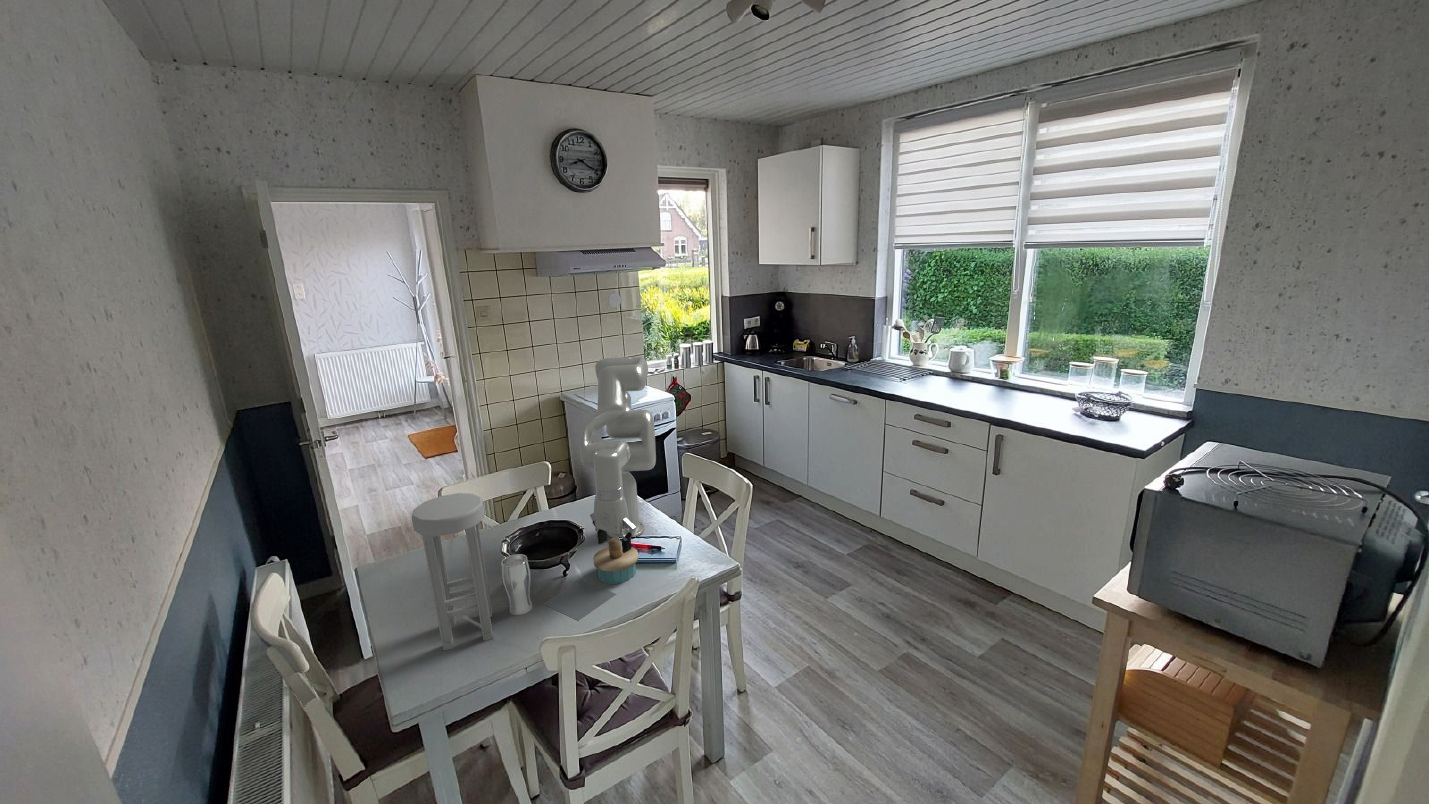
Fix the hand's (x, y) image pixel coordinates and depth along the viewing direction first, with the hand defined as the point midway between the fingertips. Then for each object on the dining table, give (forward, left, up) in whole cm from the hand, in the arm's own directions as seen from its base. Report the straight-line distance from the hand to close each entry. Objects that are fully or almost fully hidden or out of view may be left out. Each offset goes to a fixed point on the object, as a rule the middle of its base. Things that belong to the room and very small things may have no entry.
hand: (614, 546), depth 169 cm
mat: (+1, -15, -9) cm, 18 cm away
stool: (-14, -39, -10) cm, 43 cm away
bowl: (0, 0, -9) cm, 9 cm away
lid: (0, 0, -4) cm, 4 cm away
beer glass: (-10, -26, -10) cm, 30 cm away
